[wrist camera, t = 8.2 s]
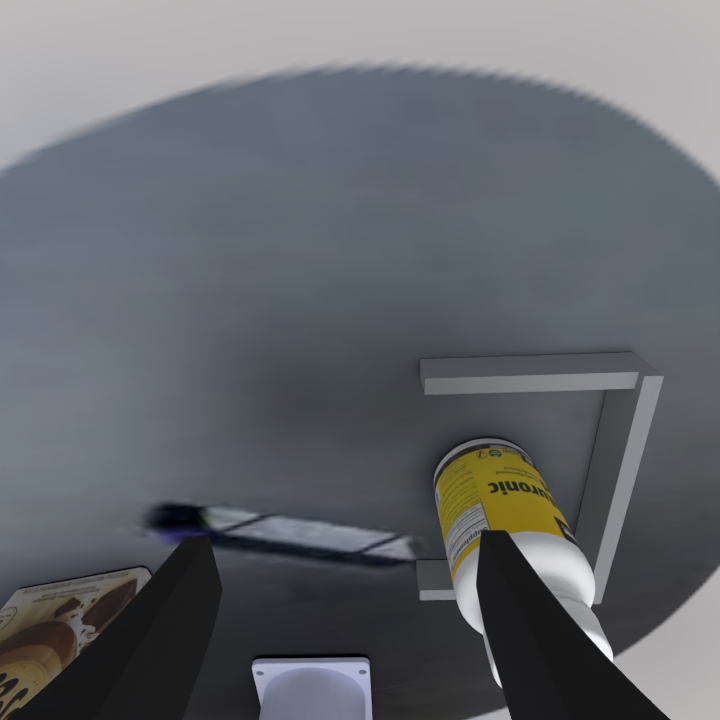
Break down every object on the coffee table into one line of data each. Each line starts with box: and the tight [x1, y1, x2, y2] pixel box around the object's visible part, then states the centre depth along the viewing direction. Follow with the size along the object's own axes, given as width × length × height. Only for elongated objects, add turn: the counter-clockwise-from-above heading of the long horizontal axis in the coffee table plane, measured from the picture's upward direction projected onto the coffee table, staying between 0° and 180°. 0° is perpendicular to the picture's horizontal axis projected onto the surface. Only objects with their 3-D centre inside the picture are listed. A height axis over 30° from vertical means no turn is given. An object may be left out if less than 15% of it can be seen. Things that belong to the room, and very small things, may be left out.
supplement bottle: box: [433, 438, 613, 688], centre depth 19 cm, size 5×5×10 cm
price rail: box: [416, 352, 664, 604], centre depth 22 cm, size 14×10×2 cm
